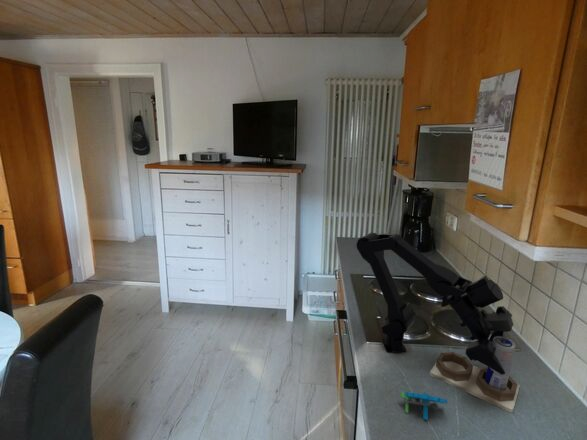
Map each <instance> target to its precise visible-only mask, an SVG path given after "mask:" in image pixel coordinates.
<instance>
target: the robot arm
mask: <svg viewBox="0 0 587 440" xmlns="http://www.w3.org/2000/svg"><path fill="white" fill-rule="evenodd" d="M356 249H357V251H358V252H359V254H360V256H361V258H362V259H363V260H364V261H365V262H366V263H368V264H369V266H370V268H371V270H372V272H373V275H374V277H375V279H376V282H377V285H378V287H379V288H380V289H379V290H380V291H381V293H382V296H383V298H384V301H385V303H386V306H387V307H386V308H387V312H386V313H387V319H388V320H387V321H386V322H385V323H384V324H383V325H382V326H381V331H382V334H384V337H385V338H381V343H382V346H383V347H384V350H385V351H386V353H406V352H407V348H406V346H405V345H404V338H405V333H406V332H407V331H408V330H409V329H410V327H412V326H413V324H415V323H414V322H415V321H416V312H415V311H414V309H413V306H412V304H411V302H408V303H406V301H404V300H403V299H402V297H401V295H400V292H399V290H398V288H397V285H396V283H395V280H394V279H393V276H392V274H391V272H390V270H389V267H388V264H387V262H386V260H385V251H392V252H393V253H394V254H396V255H397V256H398V257H400V258H401V259H402V260H403V261H405V262H406V263H407V264H408V265H409V266H410V267H412V268H413V269H415V271H417V272H418V273H419V274H420V275H422V277H423V278H424V280H425V281H426V284H427V285H428V286H429V288H431V289H432V290H433V292H434V293H436V294H437V295H438V296H440V297H442V298H441V300H442V301H441V305H440V306H441V307H442V308H444V307H446V306H449V307H451V309H452V310H453V312H454V313H455V314H456V316H457V317H458V319H459V320H460V323H459V325H460V326H461V327H462V328H463V327H465V328H466V329H467V331H468V333H470V335H469V339H470V340H471V342H469V343H468V346H467V347H466V349H465V356H466V358H467V359H468V360H469V361H475V362H476V361H477V362H479V363H481V364H482V365H485V367H487V368H488V367H490V368H491V369H493V370H495V371H496V372H498V373H500V374H501V375H503V374H505V371H504V369H503V367H502V365H501V364H500V362H499V360H498V359H497V357H496V356H495V351H496V347H495V348H494V346H493V343H492V342H493V338H494V337H497V336H501V337H506V336H505V333H507V332H511V331H513V327H514V321H513V319H512V316H513V314H512V313H511V312H510V311H509V310H507V308H506V307H505V306H503V305H502V306H497V308H496V310H495V311H492V312H491V313H487V311H486V310H485V309H484V308H485V307H488V306H489V305H493V304H495V303H497V302H499V301H502V300H504V294H503V291H502V290H501V287H500V286H499V284H497V283H495V282H494V281H493V280H492V279H489V278H488V277H487V276H486V275H484V276H482V277H481V278H479V279H477V280H475V281H472V280H469V279H467V278H465V277H462V276H459V275H458V274H457V273H456V272H455V271H453V270H451V269H449V268H447V267H446V266H444V265H440V264H437V263H435V262H433V261H432V260H431V259H429V258H428V257H427V256H425V255H424V254H423V253H421V252H420V251H419V250H418V249H417V248H415V246H412V244H410V243H409V242H407V240H406V239H404V238H403V237H402V236H401V235H400V234H398V233H393V234H389V233H381V234H379V233H376V232H370V233H368V234H365V235H364V236H362V237H360V238H359V239H358V240H357V241H356ZM479 308H481V309H479Z"/></svg>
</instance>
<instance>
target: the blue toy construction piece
mask: <svg viewBox="0 0 587 440" xmlns="http://www.w3.org/2000/svg"><path fill="white" fill-rule="evenodd" d="M400 398H403V402H404V403H405V405H404V407H405V408H404V411H405V413H407V414H409V404H414V405H419V406H423V407H422V408H423V412H422V413H423V414H422V415H423V416H422V417H423V418H422V419H423V420H426V421H428V418H429V417H428V416H429V413H428V412H429V411H428V410H429V409H428V407H430V402H433V403H440V404H448V400H447V399H445V398H443V397H438V396H433V395H431V396H430V395H429V394H428V392H427V393H425V392H423V393H421V394H420V393H417V392H410V391H409V392H406V391H400ZM415 399H416V400H421V401H422V402H417V401H414V400H415Z"/></svg>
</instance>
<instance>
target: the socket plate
mask: <svg viewBox="0 0 587 440" xmlns="http://www.w3.org/2000/svg"><path fill="white" fill-rule="evenodd" d="M486 373H487V368H480V367H477V366H474V365H473V364H472V363H471V362H470V360H469V358H468V357H467V356H463V355H461V354H459V353H456V352H454V351H450V352H449V351H447V352H440V353H439V355H438V357H437V358H436V362H435V364H434V365H433V367H432V368H431V369H430V372H429V376H431V377H433V378H434V379H435V378H436V379H438V380H439V381H442V382H444V383H447V384H449V385H450V386H452V387H454V388H457V389H459V390H461V391H463V392H466V393H468V394H470V395H472V396H474V397H477V398H478V399H481V400H482V401H484V402H488V403H489V404H492V405H494V406H495V407H498V408H500V409H503V410H504V411H507V412H508V413H511V414H513V412H514V408H515V405H516V401H517V397H518V394H519V391H520V388H521V384H519V383H517V382H516V381H515V380H514V379H513V378H512V377H511V376H510V375H509V378H508V382H507V387H506V390H503V391H500V390H498V389H496V388H493V387H491V386H489V385H488V384H487V383H486V382H485V378H486Z"/></svg>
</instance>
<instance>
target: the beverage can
mask: <svg viewBox="0 0 587 440" xmlns="http://www.w3.org/2000/svg"><path fill="white" fill-rule="evenodd" d="M492 343H493V346H494V348H495V347H496V351H495V356H496V357H497V359H498V360H499V362H500V364H501V365H502V367H503V369H504V371H505V374H503V375H501V374H500V373H498V372H496V371H495V370H493V369H491V368H490V367H488V366H487V368H486V369H487V373H486V378H485V382H486V383H487V384H488V385H489V386H491V387H493V388H496V389H498V390H500V391H503V390H506V387H507V382H508V378H509V376H510V373H511V367H512V363H513V360H514V359H513V358H514V355H515V349H516V343H515V342H514V341H513V340H511V339H510V338H508V337H506V336H505V337H501V336H497V337H494V338H493V342H492Z"/></svg>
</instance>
